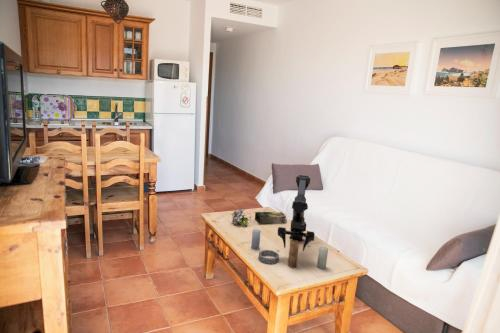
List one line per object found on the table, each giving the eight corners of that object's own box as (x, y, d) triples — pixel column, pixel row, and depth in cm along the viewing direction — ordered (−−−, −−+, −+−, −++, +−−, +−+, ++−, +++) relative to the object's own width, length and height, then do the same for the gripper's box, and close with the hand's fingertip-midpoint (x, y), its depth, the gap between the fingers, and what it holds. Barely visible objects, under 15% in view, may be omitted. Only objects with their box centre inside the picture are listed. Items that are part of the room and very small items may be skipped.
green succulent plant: (233, 231, 226) (228, 214, 229) (248, 226, 231) (242, 209, 234) (238, 228, 216) (232, 209, 219) (254, 223, 221) (247, 205, 224)
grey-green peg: (322, 264, 179) (324, 246, 177) (327, 268, 176) (329, 250, 173) (315, 265, 178) (317, 247, 176) (320, 269, 174) (322, 251, 172)
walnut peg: (293, 262, 179) (296, 239, 176) (298, 266, 175) (300, 243, 172) (286, 264, 177) (288, 240, 174) (290, 268, 173) (293, 244, 170)
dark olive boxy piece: (282, 218, 241) (282, 210, 240) (287, 224, 232) (288, 215, 231) (254, 219, 236) (255, 211, 234) (258, 225, 227) (259, 216, 225)
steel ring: (272, 253, 188) (273, 249, 187) (282, 262, 178) (282, 257, 178) (255, 255, 183) (255, 251, 183) (263, 265, 174) (264, 260, 174)
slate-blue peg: (257, 245, 196) (258, 229, 194) (260, 249, 192) (261, 232, 190) (250, 246, 194) (251, 229, 192) (253, 249, 190) (254, 232, 188)
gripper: (279, 212, 178) (275, 240, 170) (316, 217, 175) (313, 246, 166) (280, 221, 187) (275, 248, 179) (315, 226, 184) (312, 254, 176)
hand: (293, 249), depth 175 cm, fingers open, 9 cm apart
